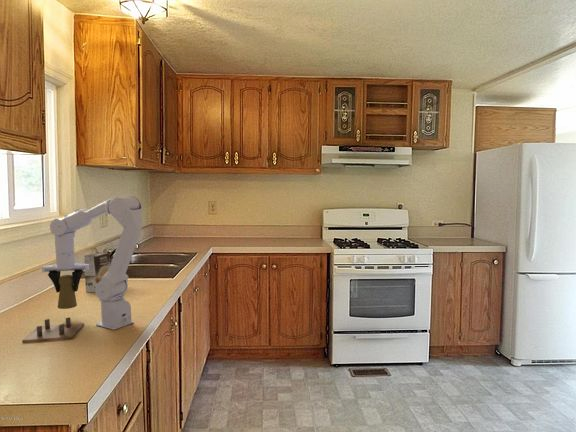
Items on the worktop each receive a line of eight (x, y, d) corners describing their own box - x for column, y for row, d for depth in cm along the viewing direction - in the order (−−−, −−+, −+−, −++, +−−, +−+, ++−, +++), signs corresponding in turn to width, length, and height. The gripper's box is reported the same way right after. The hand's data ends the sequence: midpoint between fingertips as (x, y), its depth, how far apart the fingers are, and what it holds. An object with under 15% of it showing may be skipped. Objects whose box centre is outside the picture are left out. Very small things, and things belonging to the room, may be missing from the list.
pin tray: (83, 325, 140) (83, 314, 139) (72, 339, 128) (71, 327, 128) (38, 328, 137) (37, 317, 137) (22, 342, 125) (21, 330, 125)
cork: (71, 302, 149) (71, 272, 148) (80, 305, 145) (79, 275, 144) (54, 306, 144) (53, 275, 143) (62, 310, 141) (62, 278, 139)
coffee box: (97, 293, 179) (95, 256, 178) (85, 292, 181) (83, 255, 180) (111, 287, 188) (110, 252, 187) (100, 286, 190) (98, 252, 188)
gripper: (90, 249, 148) (92, 287, 149) (46, 251, 145) (48, 289, 147) (85, 253, 141) (87, 292, 142) (38, 255, 138) (41, 294, 140)
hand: (67, 291), depth 144 cm, fingers closed on cork, 5 cm apart
